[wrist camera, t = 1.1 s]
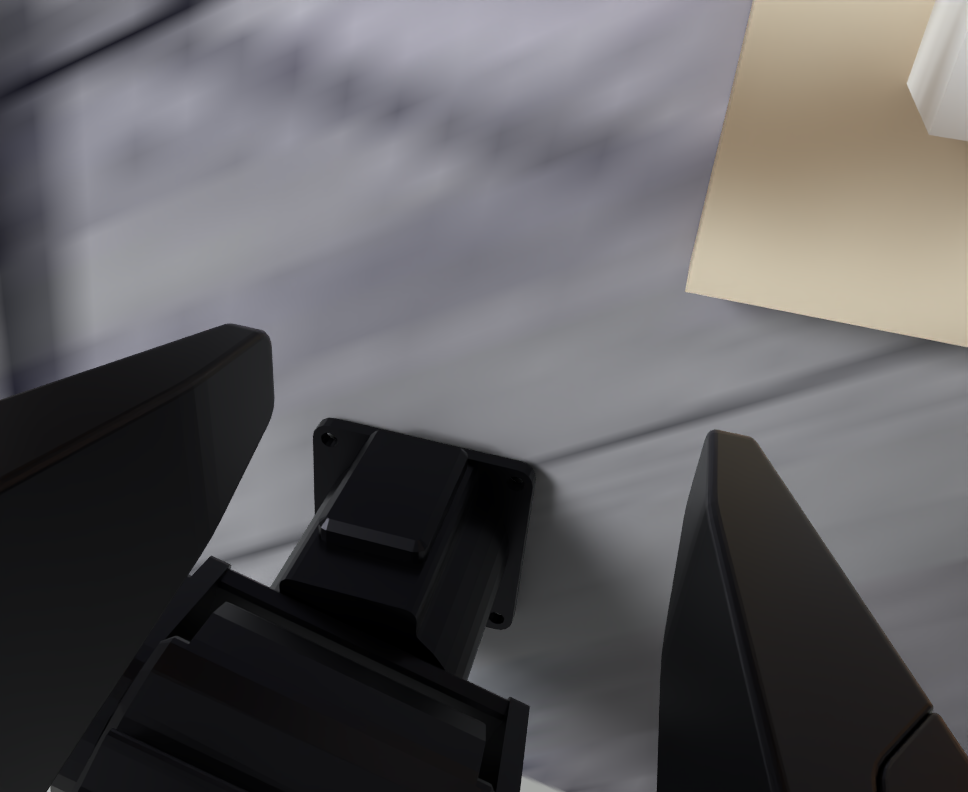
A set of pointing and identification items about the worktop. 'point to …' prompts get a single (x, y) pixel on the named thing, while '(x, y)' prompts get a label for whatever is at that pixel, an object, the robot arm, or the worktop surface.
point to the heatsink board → (845, 167)
